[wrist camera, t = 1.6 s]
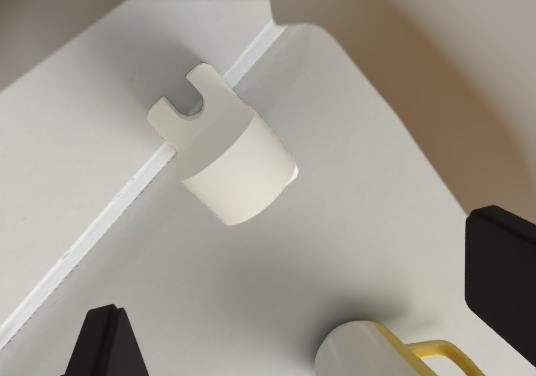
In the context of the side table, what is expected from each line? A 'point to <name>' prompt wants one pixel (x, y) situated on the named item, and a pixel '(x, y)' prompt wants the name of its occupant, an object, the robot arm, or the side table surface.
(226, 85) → the cable organizer
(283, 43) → the side table surface
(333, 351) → the mug
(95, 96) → the side table surface
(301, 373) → the side table surface
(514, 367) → the side table surface
